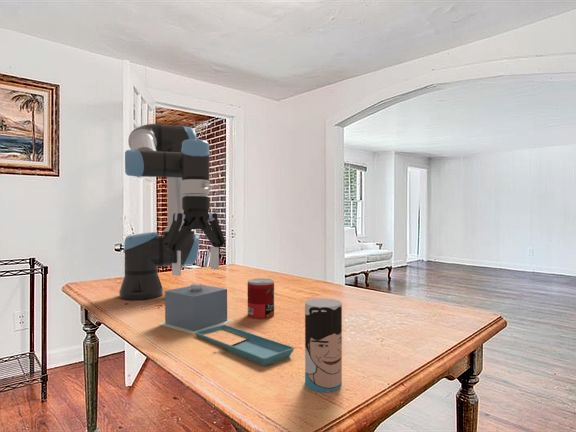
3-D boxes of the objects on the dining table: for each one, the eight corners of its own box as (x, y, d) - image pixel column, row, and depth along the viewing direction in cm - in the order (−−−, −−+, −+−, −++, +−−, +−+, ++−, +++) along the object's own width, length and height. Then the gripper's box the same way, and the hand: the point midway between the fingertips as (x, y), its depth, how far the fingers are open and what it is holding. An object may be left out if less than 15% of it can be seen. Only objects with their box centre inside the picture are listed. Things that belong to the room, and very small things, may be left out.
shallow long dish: (194, 340, 97) (194, 330, 97) (224, 332, 103) (224, 322, 103) (264, 371, 79) (264, 358, 78) (295, 358, 85) (295, 347, 85)
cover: (165, 323, 108) (164, 285, 108) (198, 314, 118) (198, 279, 117) (193, 331, 101) (193, 290, 101) (227, 320, 110) (227, 283, 110)
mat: (157, 325, 108) (157, 323, 108) (199, 314, 120) (199, 312, 120) (193, 336, 99) (193, 333, 99) (234, 322, 111) (234, 320, 111)
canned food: (270, 321, 112) (270, 283, 111) (244, 320, 113) (244, 282, 113) (276, 314, 119) (276, 278, 119) (251, 313, 121) (251, 277, 120)
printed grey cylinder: (307, 392, 68) (307, 307, 68) (303, 376, 75) (303, 298, 75) (345, 391, 69) (345, 306, 68) (338, 375, 75) (338, 298, 75)
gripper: (166, 193, 96) (167, 279, 96) (237, 197, 116) (237, 268, 116) (148, 194, 101) (149, 276, 101) (219, 197, 121) (219, 266, 121)
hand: (196, 272), depth 109 cm, fingers open, 13 cm apart
